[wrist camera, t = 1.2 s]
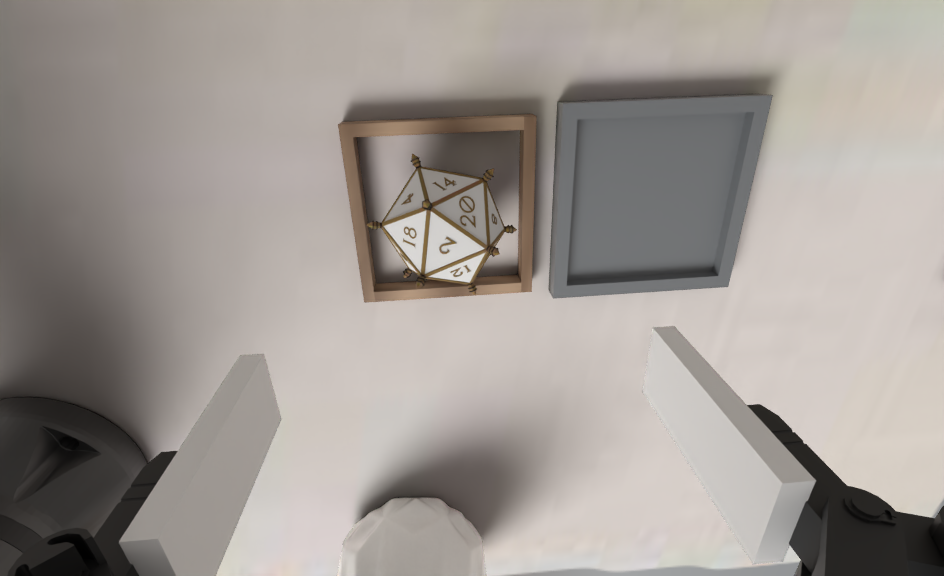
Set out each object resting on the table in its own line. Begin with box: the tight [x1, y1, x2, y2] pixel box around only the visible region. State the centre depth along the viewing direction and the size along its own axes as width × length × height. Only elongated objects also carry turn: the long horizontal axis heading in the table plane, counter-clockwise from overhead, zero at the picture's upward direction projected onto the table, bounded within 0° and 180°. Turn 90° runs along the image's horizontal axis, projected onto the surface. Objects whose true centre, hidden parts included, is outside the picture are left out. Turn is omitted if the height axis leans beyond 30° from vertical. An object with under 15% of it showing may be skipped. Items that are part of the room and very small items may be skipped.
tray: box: [549, 94, 773, 298], centre depth 34 cm, size 14×14×2 cm
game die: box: [367, 154, 517, 295], centre depth 30 cm, size 9×8×10 cm
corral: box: [338, 114, 537, 302], centre depth 33 cm, size 13×13×2 cm
